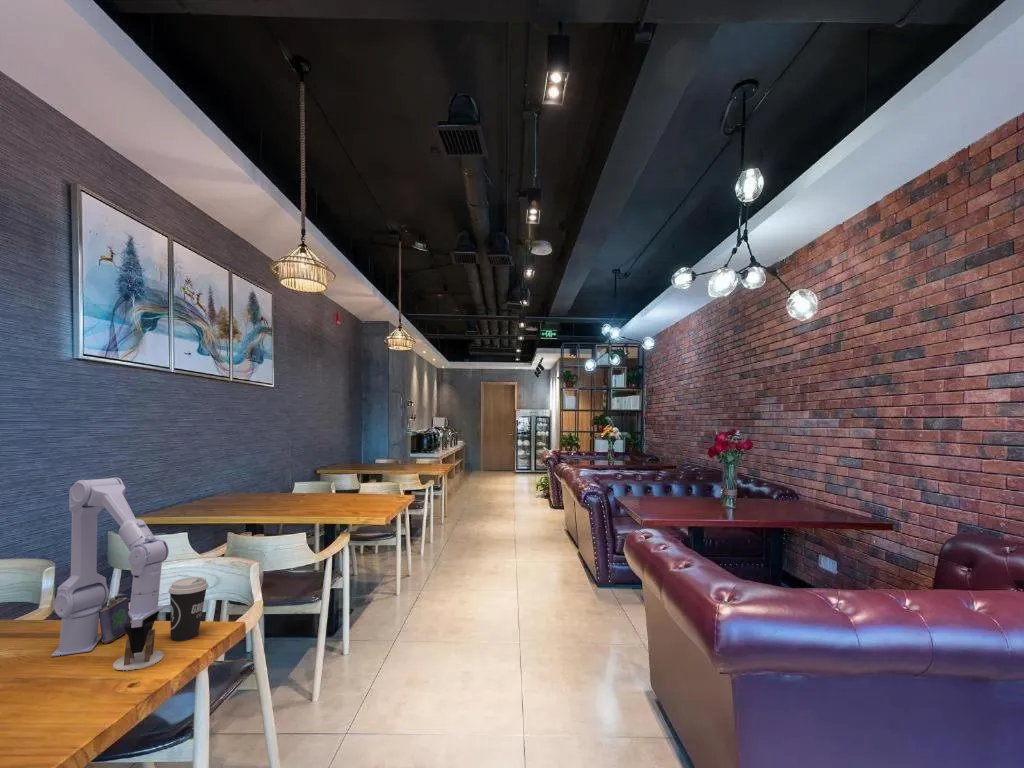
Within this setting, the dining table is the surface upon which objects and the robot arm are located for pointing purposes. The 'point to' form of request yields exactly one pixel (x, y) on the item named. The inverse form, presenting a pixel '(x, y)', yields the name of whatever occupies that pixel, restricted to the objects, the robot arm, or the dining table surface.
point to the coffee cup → (186, 607)
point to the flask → (114, 619)
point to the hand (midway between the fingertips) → (140, 647)
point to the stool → (148, 648)
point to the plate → (138, 661)
